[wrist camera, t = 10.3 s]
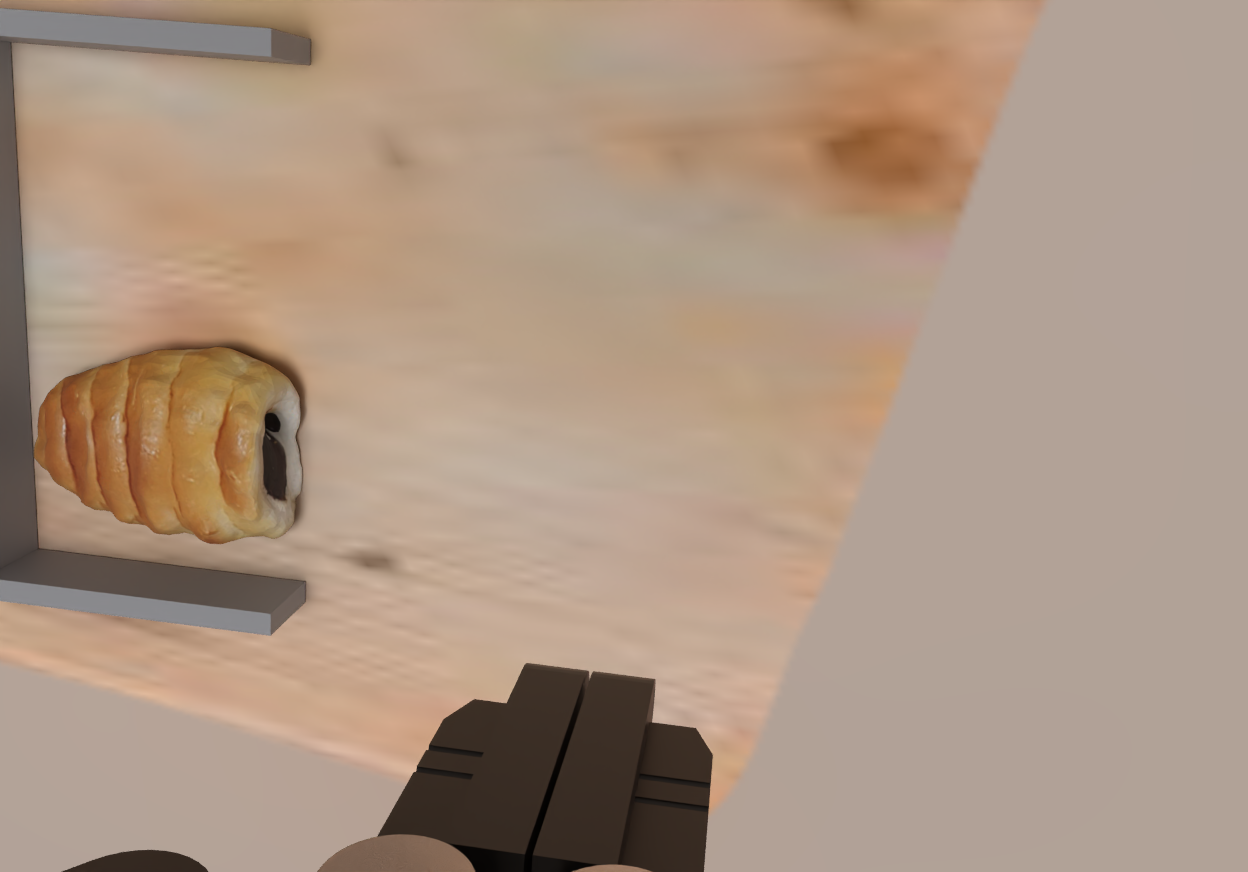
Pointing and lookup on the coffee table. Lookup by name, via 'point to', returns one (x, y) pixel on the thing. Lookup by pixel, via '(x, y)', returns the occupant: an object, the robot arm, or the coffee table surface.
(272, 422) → the pastry
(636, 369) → the coffee table surface
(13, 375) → the box
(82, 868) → the robot arm
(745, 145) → the coffee table surface
